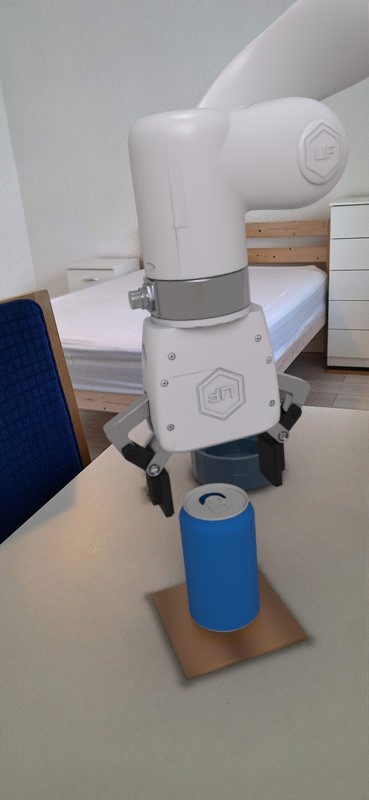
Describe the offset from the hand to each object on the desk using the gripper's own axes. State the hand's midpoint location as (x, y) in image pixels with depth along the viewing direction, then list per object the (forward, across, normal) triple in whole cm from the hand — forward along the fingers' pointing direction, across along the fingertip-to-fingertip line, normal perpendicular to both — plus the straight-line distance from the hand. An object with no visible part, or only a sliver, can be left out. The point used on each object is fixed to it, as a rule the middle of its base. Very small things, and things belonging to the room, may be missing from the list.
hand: (219, 493), depth 51 cm
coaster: (+13, -1, 0) cm, 13 cm away
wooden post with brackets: (+13, 0, +27) cm, 30 cm away
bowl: (+13, +11, +25) cm, 30 cm away
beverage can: (+13, -1, 0) cm, 13 cm away
